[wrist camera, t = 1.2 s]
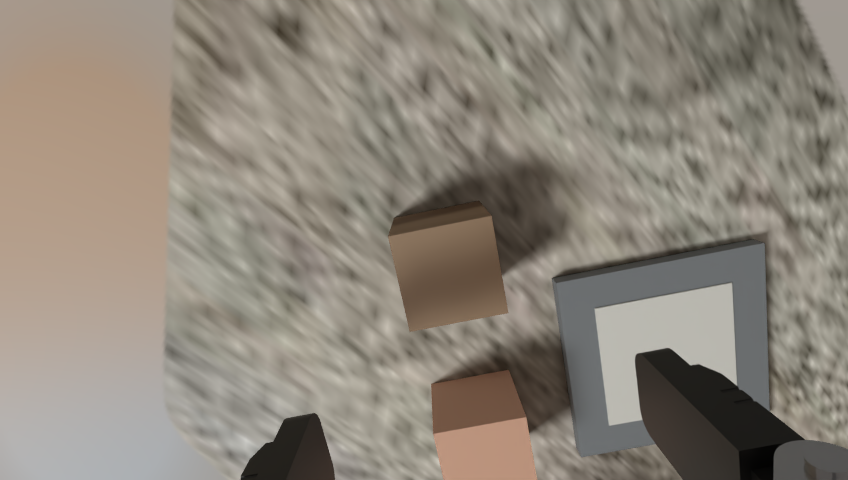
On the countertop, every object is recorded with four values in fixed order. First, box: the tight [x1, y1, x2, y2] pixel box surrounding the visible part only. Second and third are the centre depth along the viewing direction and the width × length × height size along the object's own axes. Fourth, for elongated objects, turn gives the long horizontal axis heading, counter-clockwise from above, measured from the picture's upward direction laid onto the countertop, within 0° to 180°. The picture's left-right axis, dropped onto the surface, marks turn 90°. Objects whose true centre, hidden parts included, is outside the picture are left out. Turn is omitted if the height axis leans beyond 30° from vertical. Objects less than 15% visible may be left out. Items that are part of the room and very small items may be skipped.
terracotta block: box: [431, 370, 537, 480], centre depth 27 cm, size 5×5×5 cm
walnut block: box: [388, 201, 508, 332], centre depth 24 cm, size 5×5×5 cm
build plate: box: [552, 239, 770, 457], centre depth 28 cm, size 12×12×1 cm
